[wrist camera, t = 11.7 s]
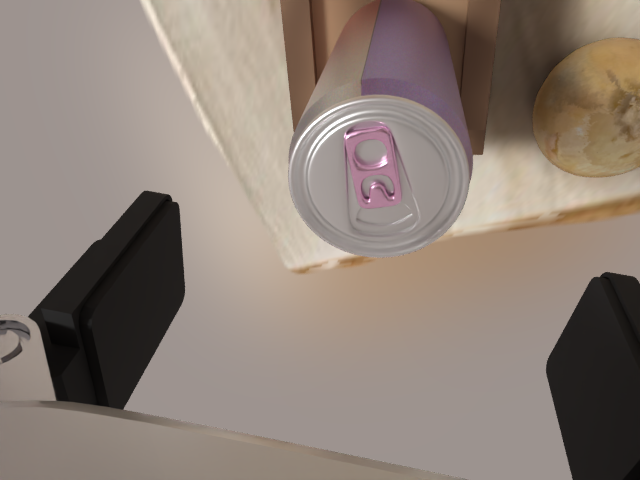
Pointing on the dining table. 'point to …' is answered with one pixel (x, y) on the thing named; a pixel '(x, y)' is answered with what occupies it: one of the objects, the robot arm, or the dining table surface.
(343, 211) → the beverage can
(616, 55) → the onion
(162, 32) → the dining table surface
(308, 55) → the walnut box
